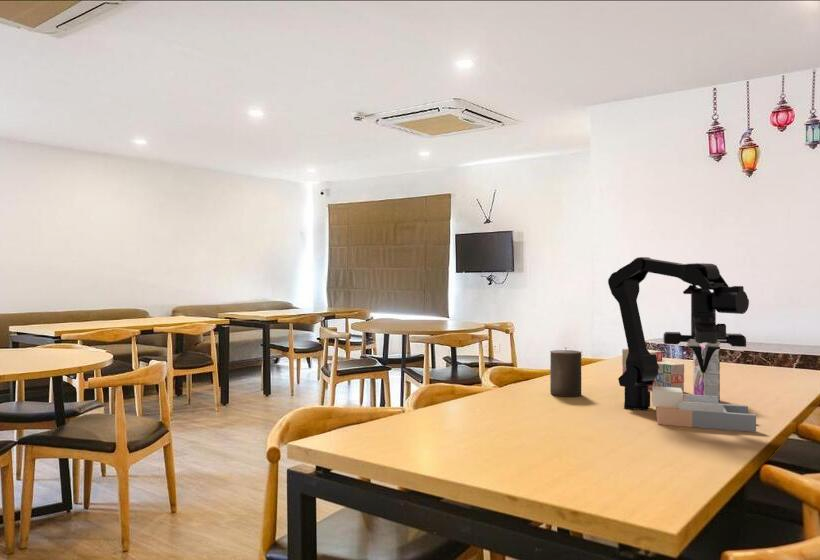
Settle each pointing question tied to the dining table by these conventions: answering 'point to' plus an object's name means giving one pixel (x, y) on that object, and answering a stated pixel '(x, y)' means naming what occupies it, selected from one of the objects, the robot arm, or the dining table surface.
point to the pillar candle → (565, 373)
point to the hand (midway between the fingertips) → (703, 372)
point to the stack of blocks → (663, 371)
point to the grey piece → (709, 418)
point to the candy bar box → (707, 375)
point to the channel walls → (701, 403)
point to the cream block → (666, 396)
